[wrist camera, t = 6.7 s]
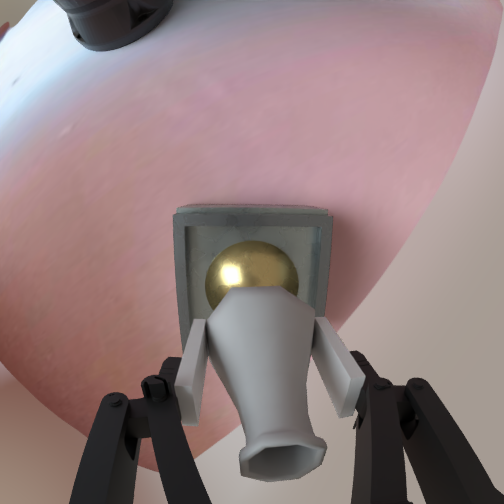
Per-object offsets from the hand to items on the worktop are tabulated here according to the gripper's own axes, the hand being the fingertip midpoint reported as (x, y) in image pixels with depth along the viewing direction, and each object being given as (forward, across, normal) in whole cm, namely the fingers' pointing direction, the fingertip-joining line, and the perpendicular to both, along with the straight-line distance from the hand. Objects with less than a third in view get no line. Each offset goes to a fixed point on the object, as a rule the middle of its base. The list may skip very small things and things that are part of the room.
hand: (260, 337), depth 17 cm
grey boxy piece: (+15, 0, 0) cm, 15 cm away
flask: (0, 0, 0) cm, 0 cm away
